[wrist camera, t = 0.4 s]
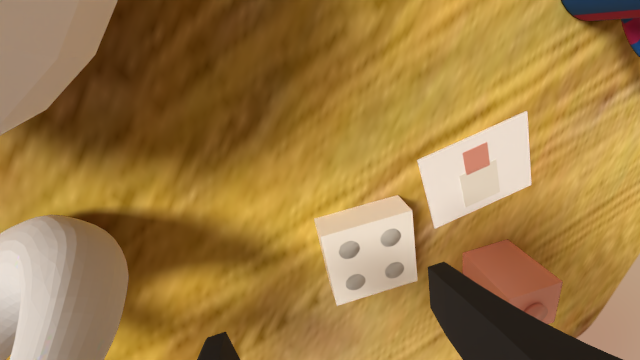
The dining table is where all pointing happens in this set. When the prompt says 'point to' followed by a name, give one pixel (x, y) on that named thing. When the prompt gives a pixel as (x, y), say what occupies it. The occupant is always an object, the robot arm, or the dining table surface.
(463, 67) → the dining table surface
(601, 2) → the mug
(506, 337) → the robot arm
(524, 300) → the red brick
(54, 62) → the vase
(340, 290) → the base brick
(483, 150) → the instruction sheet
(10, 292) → the toy
